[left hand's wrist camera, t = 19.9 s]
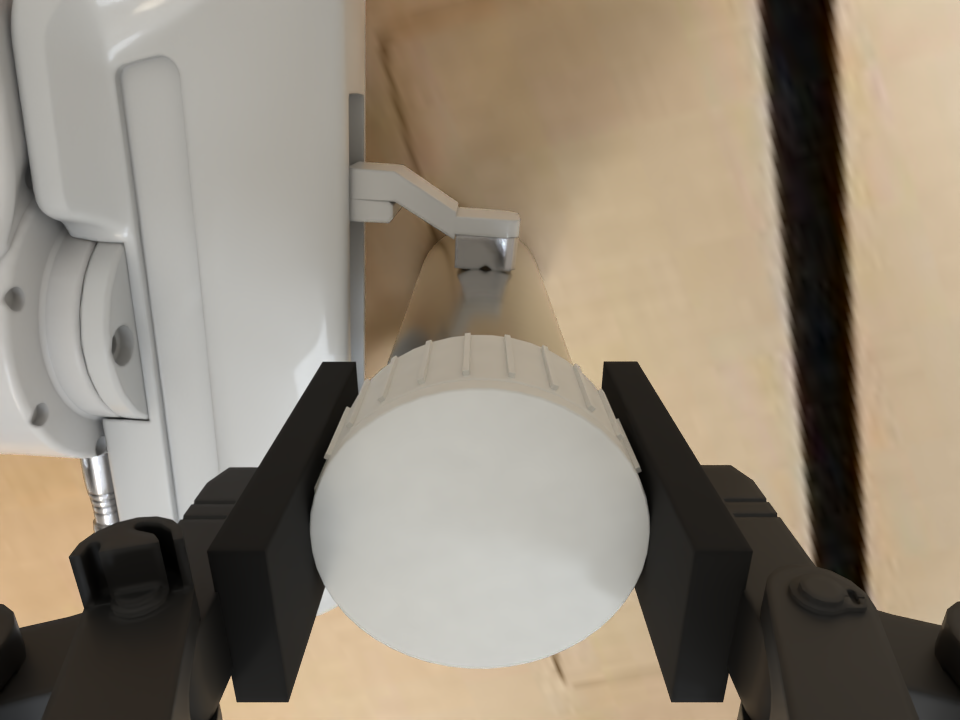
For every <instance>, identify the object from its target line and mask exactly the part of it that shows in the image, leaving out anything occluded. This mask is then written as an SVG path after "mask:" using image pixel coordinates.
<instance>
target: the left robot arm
mask: <svg viewBox="0 0 960 720" xmlns="http://www.w3.org/2000/svg"><path fill="white" fill-rule="evenodd" d="M602 390H603V391H604V393H605V395H606V397H607V400H608V402H609V404H610V407H611V409H612V411H613V413H614V416H615V418H616V419H619V421H620V423H621V425H622V427H623V430H624V432H625V434H626V436H627V439H628V441H629V443H630V445H631V448H632V450H633V452H634V454H635V457H636V459H637V461H638V463H639V466H640V468H641V472H639V473H638V476H639V478H640V481H641V483H642V486H643V489H644V492H645V495H646V498H647V503H648V509H649V514H650V536H649V544H648V552H647V556H646V560H645V563H644V566H643V570H642V572H641V574H640V576H639V578H638V581H637V583H636V585H635V590H636V593H637V596H638V599H639V603H640V606H641V609H642V612H643V615H644V618H645V621H646V624H647V628H648V631H649V634H650V637H651V640H652V643H653V646H654V649H655V653H656V656H657V659H658V662H659V665H660V668H661V671H662V674H663V677H664V681H665V684H666V687H667V690H668V693H669V696H670V699H671V702H723V700H724V695H725V690H726V685H727V680H728V675H729V674H730V676H731V679H732V681H733V683H734V685H735V688H736V690H737V692H738V695H739V697H740V699H741V704H740V709H739V713H738V718H737V720H960V602H956V603H955V604H954V605H952V606H951V607H950V608H948V609H947V612H946V614H945V617H944V620H943V623H942V626H941V625H937V624H932V623H928V622H923V621H919V620H914V619H910V618H905V617H901V616H896V615H892V614H888V613H885V612H882V611H878V610H877V609H876V607H875V606H874V604H873V603H872V601H871V600H870V598H869V597H868V595H867V594H866V593H865V592H864V591H863V590H861V589H860V588H859V587H858V586H856V585H855V584H854V583H853V582H852V581H850V580H848V579H846V578H844V577H842V576H840V575H838V574H836V573H834V572H832V571H830V570H826V569H823V568H819V567H816V566H815V565H814V564H813V562H812V561H811V559H810V558H809V557H808V555H807V554H806V553H805V551H804V550H803V548H802V547H801V546H800V544H799V543H798V542H797V540H796V539H795V537H794V536H793V535H792V533H791V532H790V531H789V529H788V528H787V526H786V525H785V524H784V522H783V521H782V520H781V518H780V517H777V513H776V511H775V510H774V509H773V507H772V506H771V504H770V503H769V502H766V498H765V496H764V495H763V493H762V492H761V491H760V489H759V488H758V487H757V485H756V484H755V482H754V481H753V480H752V479H750V478H749V477H747V476H746V475H744V474H743V473H741V472H740V471H738V470H737V469H736V468H734V467H733V466H731V465H700V463H699V462H698V460H697V459H696V457H695V455H694V454H693V452H692V450H691V449H690V447H689V445H688V444H687V442H686V441H685V439H684V437H683V436H682V434H681V432H680V431H679V429H678V427H677V426H676V424H675V423H674V421H673V419H672V418H671V416H670V414H669V413H668V411H667V410H666V408H665V406H664V405H663V403H662V401H661V400H660V398H659V396H658V395H657V393H656V392H655V390H654V388H653V387H652V385H651V383H650V382H649V380H648V378H647V377H646V375H645V374H644V372H643V370H642V369H641V367H640V365H639V364H638V362H604V365H603V378H602ZM358 395H359V393H358V381H357V368H356V362H322V363H321V365H320V367H319V368H318V370H317V372H316V373H315V375H314V377H313V378H312V380H311V381H310V383H309V385H308V386H307V388H306V390H305V391H304V393H303V394H302V396H301V398H300V399H299V401H298V403H297V404H296V406H295V408H294V409H293V411H292V412H291V414H290V416H289V417H288V419H287V421H286V422H285V424H284V426H283V427H282V429H281V430H280V432H279V434H278V435H277V437H276V439H275V440H274V442H273V443H272V445H271V447H270V448H269V450H268V452H267V453H266V455H265V457H264V458H263V460H262V461H261V463H260V465H259V466H258V467H229V468H227V469H226V470H225V471H223V472H222V473H220V474H219V475H217V476H216V477H214V478H213V479H212V480H210V481H209V482H207V483H206V485H205V486H204V487H203V489H202V490H201V492H200V493H199V494H198V496H197V497H196V499H195V500H194V504H191V505H190V507H189V508H188V510H187V511H186V512H185V514H184V515H183V519H180V521H179V522H178V523H176V522H175V521H174V520H172V519H167V518H163V517H158V516H152V517H137V518H133V519H129V520H125V521H121V522H117V523H114V524H112V525H110V526H108V527H105V528H103V529H101V530H99V531H96V532H95V533H93V534H92V535H91V536H89V537H88V538H86V539H85V540H84V541H82V542H81V543H79V544H78V546H77V547H76V548H75V550H74V551H73V552H72V553H71V555H70V556H69V559H70V563H71V566H72V569H73V573H74V576H75V579H76V583H77V586H78V589H79V593H80V596H81V599H82V603H83V606H84V611H83V613H81V614H77V615H74V616H70V617H66V618H62V619H57V620H53V621H49V622H44V623H40V624H35V625H31V626H26V627H22V628H19V626H18V624H17V621H16V618H15V615H14V612H13V611H11V610H10V609H9V608H7V607H6V606H5V605H4V604H0V720H222V713H221V709H220V704H219V702H220V700H221V697H222V695H223V693H224V690H225V688H226V686H227V684H228V681H229V679H230V677H231V676H232V681H233V686H234V691H235V696H236V701H237V702H289V699H290V696H291V693H292V689H293V686H294V683H295V680H296V677H297V674H298V671H299V668H300V664H301V661H302V658H303V655H304V652H305V649H306V646H307V643H308V639H309V636H310V633H311V630H312V627H313V624H314V621H315V618H316V614H317V611H318V608H319V605H320V602H321V599H322V596H323V593H324V590H325V586H324V584H323V581H322V579H321V577H320V575H319V572H318V570H317V568H316V564H315V560H314V557H313V553H312V546H311V538H310V512H311V508H312V503H313V498H314V494H315V493H314V487H315V485H316V483H317V480H318V478H319V476H320V473H321V471H322V469H323V467H324V464H325V462H326V460H327V459H324V456H325V454H326V452H327V449H328V447H329V445H330V443H331V440H332V438H333V436H334V433H335V431H336V429H337V427H338V424H339V422H340V420H341V418H342V415H343V413H344V411H345V409H346V407H349V408H351V407H352V405H353V403H354V401H355V400H356V398H357V396H358Z"/></svg>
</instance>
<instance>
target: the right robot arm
mask: <svg viewBox="0 0 960 720" xmlns="http://www.w3.org/2000/svg"><path fill="white" fill-rule="evenodd" d="M365 90H366V0H0V454H16V455H32V456H48V457H64V458H79V459H80V463H81V468H82V473H83V478H84V482H85V486H86V489H87V492H88V495H89V497H90V500H91V503H92V507H93V511H94V517H95V518H94V520H93V529H94V533H95V532H96V531H99V530H101V529H103V528H105V527H108V526H110V525H112V524H114V523H117V522H121V521H125V520H129V519H133V518H137V517H152V516H158V517H163V518H167V519H172V520H174V521H175V522H176V523H178V522H179V521H180V519H183V515H184V514H185V512H186V511H187V510H188V508H189V507H190V505H191V504H194V500H195V499H196V497H197V496H198V494H199V493H200V492H201V490H202V489H203V487H204V486H205V485H206V483H207V482H209V481H210V480H212V479H213V478H214V477H216V476H217V475H219V474H220V473H222V472H223V471H225V470H226V469H227V468H229V467H258V466H259V465H260V463H261V461H262V460H263V458H264V457H265V455H266V453H267V452H268V450H269V448H270V447H271V445H272V443H273V442H274V440H275V439H276V437H277V435H278V434H279V432H280V430H281V429H282V427H283V426H284V424H285V422H286V421H287V419H288V417H289V416H290V414H291V412H292V411H293V409H294V408H295V406H296V404H297V403H298V401H299V399H300V398H301V396H302V394H303V393H304V391H305V390H306V388H307V386H308V385H309V383H310V381H311V380H312V378H313V377H314V375H315V373H316V372H317V370H318V368H319V367H320V365H321V363H322V362H356V368H357V381H358V393H359V392H360V390H361V388H362V385H363V383H364V381H365V222H377V223H389V222H390V221H391V220H392V219H393V218H394V217H395V215H396V214H397V213H398V212H399V210H400V209H401V206H402V207H404V208H405V209H407V210H408V211H410V212H411V213H413V214H415V215H416V216H418V217H419V218H421V219H422V220H424V221H426V222H427V223H429V224H430V225H432V226H433V227H435V228H436V229H438V230H440V231H441V232H443V233H444V234H446V235H447V236H449V237H451V238H452V239H454V238H455V235H456V238H455V266H454V268H460V269H479V268H481V267H483V266H485V265H487V266H488V267H489V268H490V269H492V270H496V271H512V270H515V267H516V258H517V249H518V240H519V228H520V216H519V213H516V212H512V211H507V210H495V209H481V208H467V207H458V202H457V201H455V200H454V199H452V198H451V197H450V196H448V195H447V194H445V193H444V192H442V191H441V190H439V189H438V188H437V187H435V186H434V185H432V184H431V183H429V182H428V181H426V180H425V179H423V178H422V177H421V176H419V175H418V174H416V173H415V172H413V171H412V170H410V169H409V168H407V167H406V166H405V165H403V164H389V163H375V162H365ZM336 607H338V605H337V604H336V602H335V601H334V600H333V598H332V597H331V595H330V594H329V592H328V590H327V589H326V587H325V590H324V593H323V596H322V599H321V602H320V605H319V608H318V611H317V614H316V616H318V615H322V614H324V613H326V612H328V611H330V610H332V609H334V608H336Z"/></svg>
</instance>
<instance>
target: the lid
mask: <svg viewBox="0 0 960 720" xmlns="http://www.w3.org/2000/svg"><path fill="white" fill-rule="evenodd" d="M324 459H327V460H326V462H325V464H324V467H323V469H322V471H321V473H320V476H319V478H318V480H317V483H316V485H315V487H314V493H315V494H314V498H313V503H312V508H311V512H310V538H311V546H312V553H313V557H314V560H315V564H316V568H317V570H318V572H319V575H320V577H321V579H322V581H323V584H324V586H325V587H326V589H327V590H328V592H329V594H330V595H331V597H332V598H333V600H334V601H335V602H336V604H337V605H338V606H339V607H340V609H341V610H342V611H343V612H344V613H345V615H346V616H348V617H349V618H350V619H351V620H352V621H353V622H354V623H355V624H356V625H357V626H358V627H359V628H361V629H362V630H363V631H365V632H366V633H368V634H369V635H370V636H372V637H373V638H374V639H376V640H378V641H380V642H381V643H383V644H385V645H387V646H388V647H390V648H392V649H394V650H396V651H399V652H401V653H403V654H406V655H408V656H410V657H414V658H417V659H420V660H423V661H426V662H430V663H435V664H440V665H445V666H450V667H460V668H486V669H489V668H500V667H510V666H515V665H520V664H525V663H530V662H533V661H536V660H540V659H543V658H546V657H549V656H551V655H554V654H556V653H559V652H561V651H563V650H566V649H568V648H569V647H571V646H573V645H575V644H577V643H579V642H580V641H582V640H584V639H585V638H587V637H588V636H589V635H591V634H592V633H594V632H595V631H596V630H598V629H599V628H600V627H601V626H602V625H603V624H605V623H606V622H607V621H608V620H609V619H610V618H611V617H612V616H613V615H614V614H615V613H616V612H617V611H618V609H619V608H620V607H621V606H622V605H623V604H624V602H625V601H626V599H627V598H628V596H629V595H630V593H631V592H632V590H633V589H634V587H635V585H636V583H637V581H638V578H639V576H640V574H641V572H642V570H643V566H644V563H645V560H646V556H647V552H648V544H649V536H650V514H649V509H648V503H647V498H646V495H645V492H644V489H643V486H642V483H641V481H640V478H639V476H638V473H639V472H641V468H640V466H639V463H638V461H637V459H636V457H635V454H634V452H633V450H632V448H631V445H630V443H629V441H628V439H627V436H626V434H625V432H624V430H623V427H622V425H621V423H620V421H619V419H616V418H615V416H614V413H613V411H612V409H611V407H610V404H609V402H608V400H607V397H606V395H605V393H604V391H603V390H602V389H600V390H599V391H598V390H597V389H596V387H595V386H594V385H593V383H592V382H591V381H590V380H589V379H588V378H587V377H586V376H585V375H584V374H583V373H582V371H581V369H580V366H578V365H577V364H575V365H574V366H573V365H572V364H570V363H569V362H568V361H566V360H565V359H563V358H562V357H560V356H558V355H556V354H554V353H553V352H551V351H549V350H548V347H547V346H545V345H542V347H540V346H537V345H535V344H532V343H529V342H525V341H522V340H518V339H514V338H511V337H510V335H506V334H505V335H504V337H502V336H494V335H471V333H465V336H458V337H450V338H446V339H442V340H438V341H434V342H432V340H429V341H426V344H425V345H423V346H420V347H418V348H415V349H413V350H411V351H409V352H407V353H405V354H403V355H402V356H400V357H397V356H394V357H393V358H392V359H391V362H390V363H389V364H388V365H387V366H385V367H384V368H383V369H381V370H380V371H379V372H378V373H377V374H376V375H375V376H374V377H373V378H372V379H371V380H369V379H368V378H367V379H366V380H365V381H364V383H363V385H362V388H361V390H360V392H359V395H358V396H357V398H356V400H355V401H354V403H353V405H352V407H351V408H349V407H346V409H345V411H344V413H343V415H342V418H341V420H340V422H339V424H338V427H337V429H336V431H335V433H334V436H333V438H332V440H331V443H330V445H329V447H328V449H327V452H326V454H325V456H324Z"/></svg>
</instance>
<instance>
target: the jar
mask: <svg viewBox="0 0 960 720" xmlns="http://www.w3.org/2000/svg"><path fill="white" fill-rule="evenodd" d="M455 238H456V235H455ZM455 238H454V239H452V238H451V237H449V236H447V235H445V236H444V237H443V238H441V239H440V240H439V241H438V242H437V243H436V244H435V245H434V246H433V247H432V249H431V250H430V251H429V253H428V254H427V256H426V258H425V260H424V263H423V265H422V268H421V271H420V274H419V277H418V279H417V282H416V285H415V288H414V291H413V293H412V296H411V299H410V302H409V305H408V308H407V310H406V313H405V316H404V319H403V322H402V324H401V327H400V330H399V333H398V336H397V338H396V341H395V344H394V347H393V350H392V352H391V355H390V358H389V361H388V364H389V363H390V362H391V359H392V358H393V357H394V356H397V357H400V356H402V355H403V354H405V353H407V352H409V351H411V350H413V349H415V348H418V347H420V346H423V345H425V344H426V341H429V340H432V342H434V341H438V340H442V339H446V338H450V337H458V336H465V333H471V335H494V336H502V337H504V335H505V334H506V335H510V337H511V338H514V339H518V340H522V341H525V342H529V343H532V344H535V345H537V346H540V347H542V345H545V346H547V347H548V350H549V351H551V352H553V353H554V354H556V355H558V356H560V357H562V358H563V359H565V360H566V361H568V362H569V363H570V364H572V361H571V358H570V356H569V353H568V350H567V347H566V344H565V342H564V339H563V336H562V333H561V330H560V328H559V325H558V322H557V319H556V317H555V314H554V311H553V308H552V305H551V303H550V300H549V297H548V294H547V291H546V289H545V286H544V283H543V280H542V277H541V275H540V272H539V269H538V266H537V264H536V261H535V259H534V257H533V255H532V253H531V252H530V250H529V249H528V248H527V247H526V245H525V244H524V243H523V242H522V241H521V240H520V239H519V240H518V249H517V258H516V267H515V270H512V271H496V270H492V269H490V268H489V267H488V266H487V265H485V266H483V267H481V268H479V269H460V268H454V266H455ZM388 364H387V365H388ZM572 365H573V364H572Z"/></svg>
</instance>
